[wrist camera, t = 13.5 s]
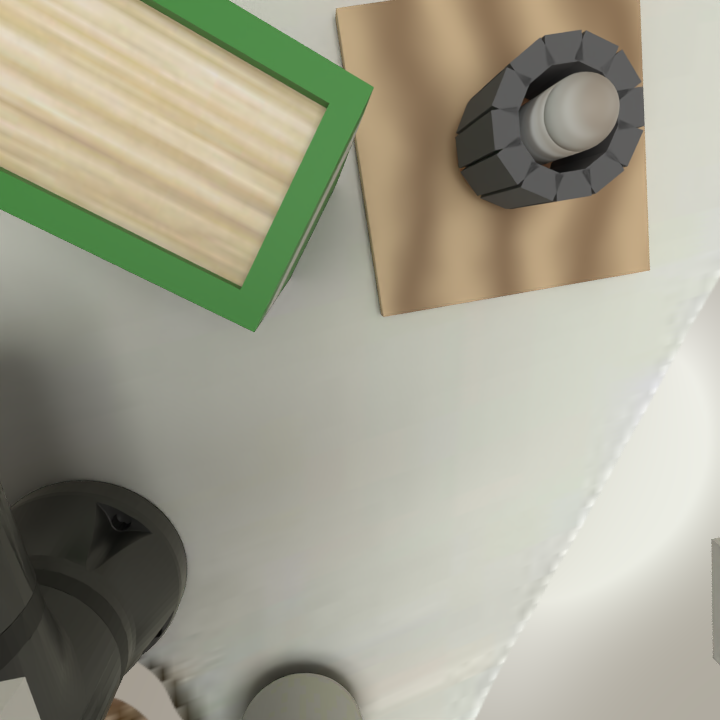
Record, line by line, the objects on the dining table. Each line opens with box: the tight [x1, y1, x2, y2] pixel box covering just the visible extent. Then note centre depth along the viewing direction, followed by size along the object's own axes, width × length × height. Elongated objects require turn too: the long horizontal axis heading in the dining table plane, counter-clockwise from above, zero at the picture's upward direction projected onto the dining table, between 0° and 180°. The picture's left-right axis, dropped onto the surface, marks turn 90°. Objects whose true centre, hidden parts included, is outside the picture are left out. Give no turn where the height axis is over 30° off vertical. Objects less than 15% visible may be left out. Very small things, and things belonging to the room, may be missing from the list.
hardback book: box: [0, 0, 374, 332], centre depth 25 cm, size 18×7×24 cm, turn 62°
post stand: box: [335, 0, 650, 317], centre depth 31 cm, size 20×20×14 cm
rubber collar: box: [455, 30, 645, 209], centre depth 31 cm, size 8×8×7 cm
